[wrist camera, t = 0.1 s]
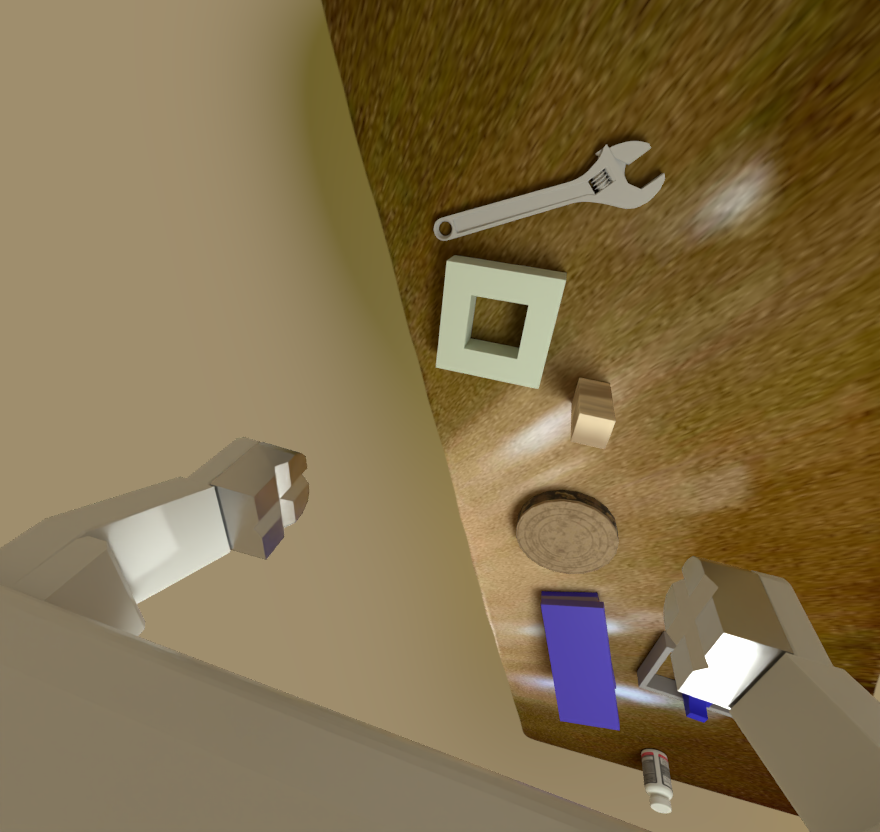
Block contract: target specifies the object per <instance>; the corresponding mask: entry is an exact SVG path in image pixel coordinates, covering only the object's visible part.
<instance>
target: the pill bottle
mask: <svg viewBox="0 0 880 832" xmlns="http://www.w3.org/2000/svg"><path fill="white" fill-rule="evenodd" d="M641 758H642V767H643V776H644V785H645V790H646V793H647V794H648V795H649V796H650V806H651V808H652V809H653V810H655V811H657V812H660V813H670V812H671V811H672V809H671V804H670V801H669V800H670V799H671V798H672V797H673V791H672V785H671V779H670V773H669V766H668V760H667V756H666V755H665V754H664V753H663V752H661V751H659V750H656V749H645V750H643V751H642V752H641Z"/></svg>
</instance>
